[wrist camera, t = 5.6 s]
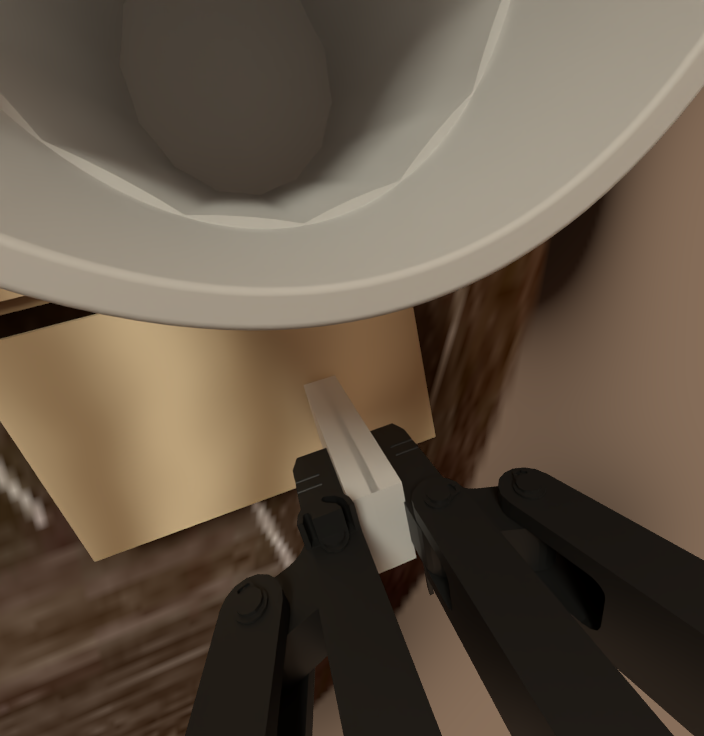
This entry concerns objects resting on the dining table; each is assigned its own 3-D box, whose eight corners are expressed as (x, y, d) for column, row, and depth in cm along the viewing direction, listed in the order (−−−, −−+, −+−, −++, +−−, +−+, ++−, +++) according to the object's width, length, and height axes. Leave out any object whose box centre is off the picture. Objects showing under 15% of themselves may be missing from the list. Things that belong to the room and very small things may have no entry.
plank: (106, 539, 15) (94, 561, 14) (-19, 343, 12) (-46, 352, 11) (424, 425, 18) (435, 436, 17) (389, 237, 15) (401, 236, 13)
